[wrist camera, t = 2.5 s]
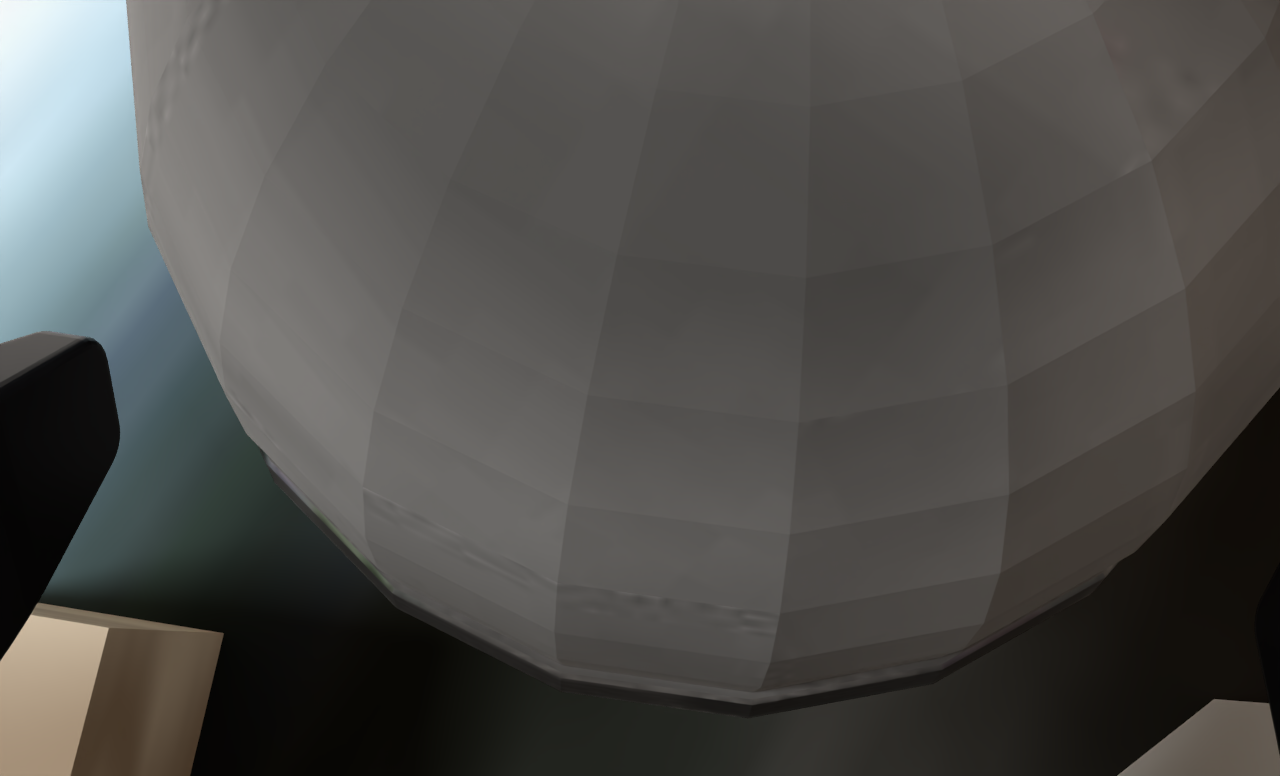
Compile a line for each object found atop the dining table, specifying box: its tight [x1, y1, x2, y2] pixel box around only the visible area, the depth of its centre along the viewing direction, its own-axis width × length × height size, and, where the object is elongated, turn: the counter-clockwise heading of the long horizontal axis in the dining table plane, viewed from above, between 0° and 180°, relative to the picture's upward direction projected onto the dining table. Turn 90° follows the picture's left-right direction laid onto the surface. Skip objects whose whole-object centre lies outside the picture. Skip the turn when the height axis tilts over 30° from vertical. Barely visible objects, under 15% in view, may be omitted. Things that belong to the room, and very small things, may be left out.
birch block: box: [0, 603, 224, 776], centre depth 16 cm, size 4×4×4 cm
